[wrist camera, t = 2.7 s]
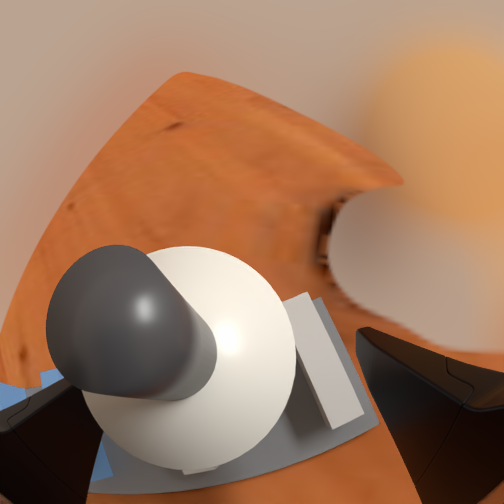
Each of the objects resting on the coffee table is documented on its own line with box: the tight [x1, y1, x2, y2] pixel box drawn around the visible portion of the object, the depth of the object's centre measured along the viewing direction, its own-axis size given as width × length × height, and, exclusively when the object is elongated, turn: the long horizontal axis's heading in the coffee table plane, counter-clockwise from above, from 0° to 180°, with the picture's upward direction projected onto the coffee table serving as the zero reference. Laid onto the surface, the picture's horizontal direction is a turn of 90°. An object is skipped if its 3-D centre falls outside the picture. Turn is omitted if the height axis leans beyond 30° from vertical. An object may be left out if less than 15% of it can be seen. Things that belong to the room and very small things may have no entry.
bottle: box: [46, 245, 296, 470], centre depth 8 cm, size 4×4×14 cm
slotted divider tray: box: [0, 292, 380, 494], centre depth 12 cm, size 9×28×4 cm, turn 110°
